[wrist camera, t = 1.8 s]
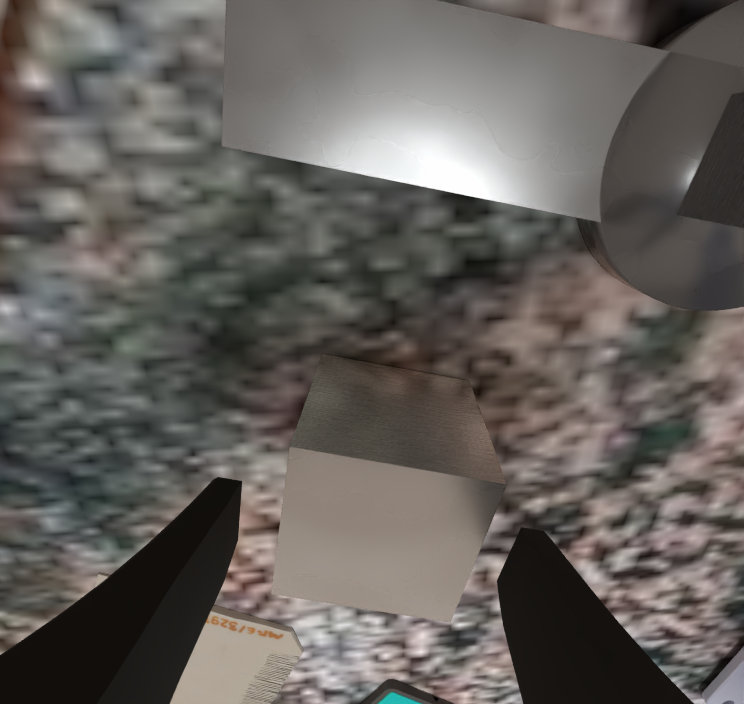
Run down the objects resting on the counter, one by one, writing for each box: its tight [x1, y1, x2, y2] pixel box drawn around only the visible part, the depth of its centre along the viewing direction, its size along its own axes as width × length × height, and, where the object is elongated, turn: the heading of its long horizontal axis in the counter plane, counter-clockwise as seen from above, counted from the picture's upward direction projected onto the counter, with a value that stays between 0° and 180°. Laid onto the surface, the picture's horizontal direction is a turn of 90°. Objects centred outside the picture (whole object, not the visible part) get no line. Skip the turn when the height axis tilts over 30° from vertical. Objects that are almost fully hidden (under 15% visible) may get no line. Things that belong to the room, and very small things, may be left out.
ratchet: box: [222, 0, 744, 310], centre depth 9 cm, size 16×7×4 cm, turn 80°
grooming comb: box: [95, 573, 304, 704], centre depth 23 cm, size 18×10×1 cm, turn 157°
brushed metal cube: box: [271, 354, 507, 622], centre depth 13 cm, size 5×5×5 cm
